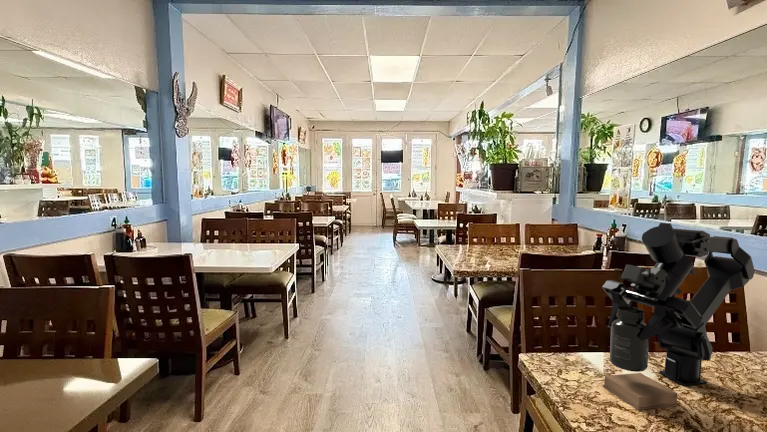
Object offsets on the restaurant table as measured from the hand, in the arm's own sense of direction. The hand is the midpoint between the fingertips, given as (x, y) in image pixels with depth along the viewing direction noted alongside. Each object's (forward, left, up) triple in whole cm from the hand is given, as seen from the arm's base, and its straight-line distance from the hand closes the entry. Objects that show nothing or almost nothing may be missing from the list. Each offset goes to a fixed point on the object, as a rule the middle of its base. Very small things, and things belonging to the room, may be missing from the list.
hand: (624, 332), depth 83 cm
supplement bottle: (-2, 0, -7) cm, 8 cm away
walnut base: (-3, +1, -13) cm, 14 cm away
